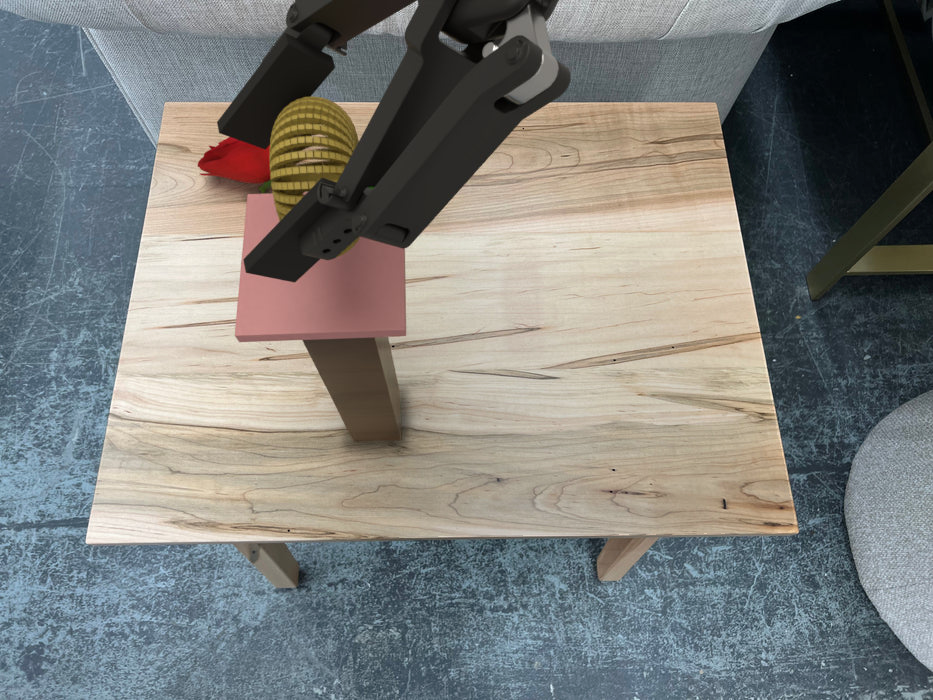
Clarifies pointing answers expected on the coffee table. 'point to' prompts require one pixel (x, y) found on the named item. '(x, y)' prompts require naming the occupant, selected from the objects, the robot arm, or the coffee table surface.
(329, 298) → the rose shelf
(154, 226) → the coffee table surface
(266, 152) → the flower
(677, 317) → the coffee table surface
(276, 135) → the sculpture
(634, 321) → the coffee table surface
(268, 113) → the robot arm
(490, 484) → the coffee table surface
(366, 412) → the stand post
